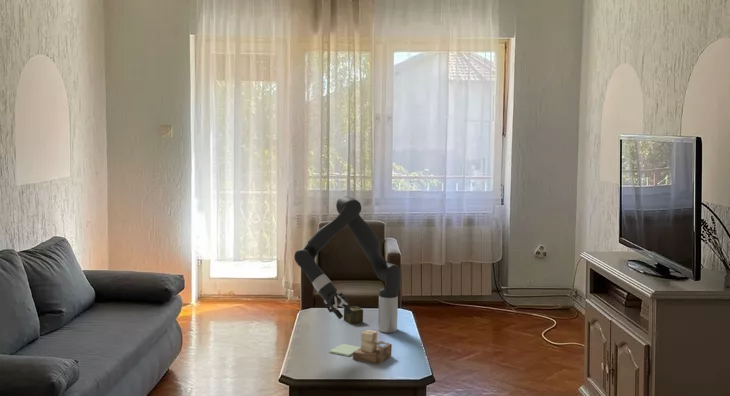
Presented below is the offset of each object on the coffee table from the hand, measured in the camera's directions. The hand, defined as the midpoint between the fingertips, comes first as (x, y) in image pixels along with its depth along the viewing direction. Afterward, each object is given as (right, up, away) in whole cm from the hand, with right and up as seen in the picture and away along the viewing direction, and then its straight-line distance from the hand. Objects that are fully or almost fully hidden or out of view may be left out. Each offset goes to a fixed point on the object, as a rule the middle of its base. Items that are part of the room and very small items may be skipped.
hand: (346, 315), depth 318 cm
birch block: (+10, -14, -4) cm, 18 cm away
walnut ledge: (+11, -17, -4) cm, 21 cm away
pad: (0, -16, +4) cm, 17 cm away
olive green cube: (+2, -12, +52) cm, 54 cm away
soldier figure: (+13, -16, +10) cm, 23 cm away
